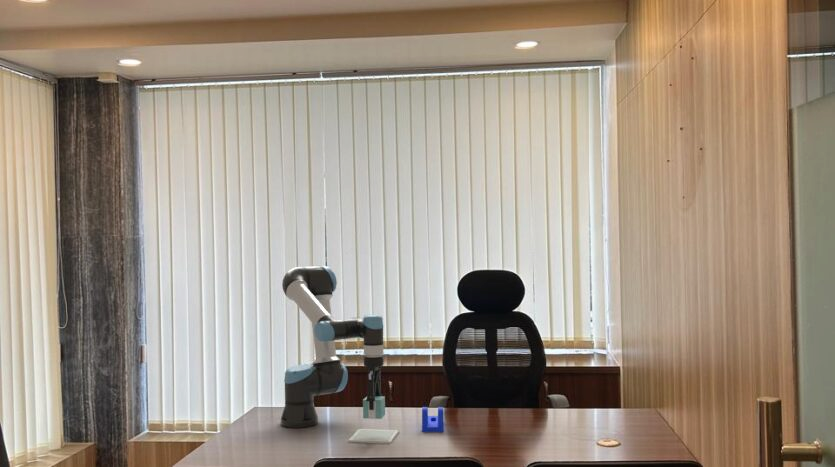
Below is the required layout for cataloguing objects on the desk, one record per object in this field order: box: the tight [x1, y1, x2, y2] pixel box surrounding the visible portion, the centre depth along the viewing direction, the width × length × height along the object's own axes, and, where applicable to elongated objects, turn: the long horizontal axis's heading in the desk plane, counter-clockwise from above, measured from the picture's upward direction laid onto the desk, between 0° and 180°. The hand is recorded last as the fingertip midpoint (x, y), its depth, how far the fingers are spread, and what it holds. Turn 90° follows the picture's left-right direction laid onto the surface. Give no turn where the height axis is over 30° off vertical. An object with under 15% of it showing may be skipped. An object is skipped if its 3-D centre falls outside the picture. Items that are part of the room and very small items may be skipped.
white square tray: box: [348, 428, 399, 445], centre depth 295 cm, size 16×16×1 cm
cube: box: [362, 395, 386, 420], centre depth 295 cm, size 7×7×7 cm
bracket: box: [421, 406, 445, 433], centre depth 311 cm, size 18×8×9 cm, turn 178°
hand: (374, 415), depth 295 cm, fingers closed on cube, 7 cm apart
